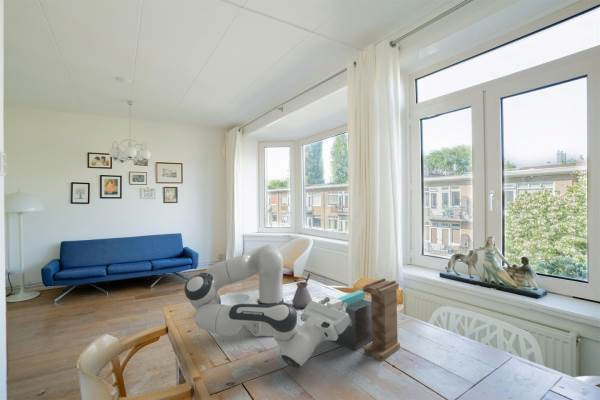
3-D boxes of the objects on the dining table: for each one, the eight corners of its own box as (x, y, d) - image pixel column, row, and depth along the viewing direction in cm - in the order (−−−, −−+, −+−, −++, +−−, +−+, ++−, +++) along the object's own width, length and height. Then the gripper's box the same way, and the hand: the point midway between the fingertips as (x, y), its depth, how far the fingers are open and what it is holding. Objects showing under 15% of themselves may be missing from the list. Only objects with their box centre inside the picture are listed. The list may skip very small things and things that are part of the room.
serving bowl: (258, 308, 158) (258, 296, 158) (231, 322, 140) (231, 308, 140) (232, 302, 169) (232, 290, 169) (204, 314, 151) (203, 301, 151)
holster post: (364, 352, 109) (362, 284, 109) (382, 341, 118) (380, 277, 118) (382, 361, 103) (380, 288, 104) (400, 348, 112) (398, 281, 112)
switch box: (328, 339, 121) (327, 302, 121) (347, 329, 130) (347, 294, 130) (355, 351, 110) (354, 311, 110) (374, 339, 119) (373, 302, 119)
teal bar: (326, 309, 112) (326, 302, 112) (359, 296, 127) (359, 290, 127) (332, 311, 110) (332, 304, 110) (365, 298, 125) (364, 291, 125)
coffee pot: (308, 310, 153) (308, 283, 153) (289, 308, 157) (288, 281, 157) (319, 298, 173) (319, 273, 173) (302, 296, 177) (301, 272, 177)
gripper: (301, 324, 115) (320, 300, 123) (339, 342, 99) (359, 313, 108) (295, 313, 112) (315, 289, 121) (333, 329, 97) (354, 301, 105)
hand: (336, 300), depth 114 cm, fingers open, 8 cm apart
